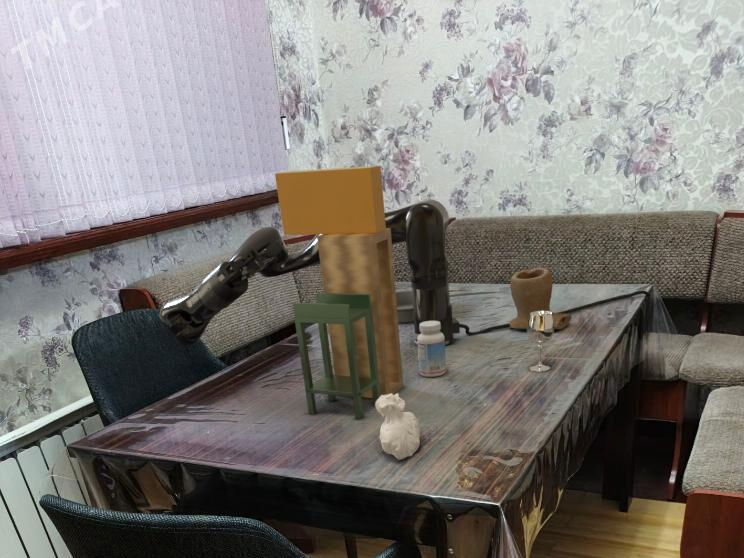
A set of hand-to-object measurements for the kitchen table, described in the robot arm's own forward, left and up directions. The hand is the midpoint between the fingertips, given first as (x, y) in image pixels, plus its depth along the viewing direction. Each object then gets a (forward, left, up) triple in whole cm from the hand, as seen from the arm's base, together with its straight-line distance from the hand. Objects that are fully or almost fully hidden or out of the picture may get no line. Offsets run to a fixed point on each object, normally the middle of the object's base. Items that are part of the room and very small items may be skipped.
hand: (268, 247), depth 147 cm
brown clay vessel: (-65, -20, -29) cm, 74 cm away
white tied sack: (-18, +45, -29) cm, 57 cm away
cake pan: (-36, -53, -29) cm, 70 cm away
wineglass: (-55, +11, -29) cm, 64 cm away
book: (-13, +9, +3) cm, 17 cm away
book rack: (-11, +21, -29) cm, 38 cm away
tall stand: (-17, +12, -29) cm, 36 cm away
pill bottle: (-32, +5, -29) cm, 44 cm away
